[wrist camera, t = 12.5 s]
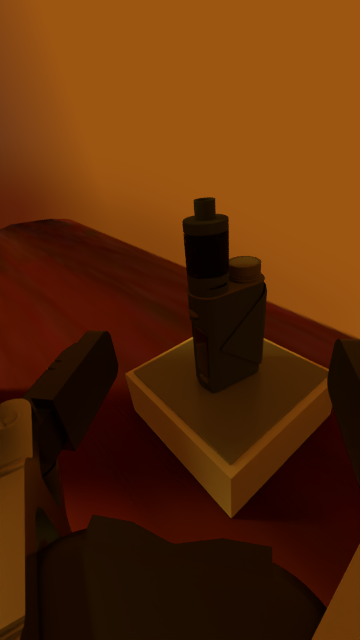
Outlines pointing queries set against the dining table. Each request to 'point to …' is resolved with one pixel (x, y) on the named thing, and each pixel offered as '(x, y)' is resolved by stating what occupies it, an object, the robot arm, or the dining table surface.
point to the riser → (232, 417)
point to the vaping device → (222, 301)
